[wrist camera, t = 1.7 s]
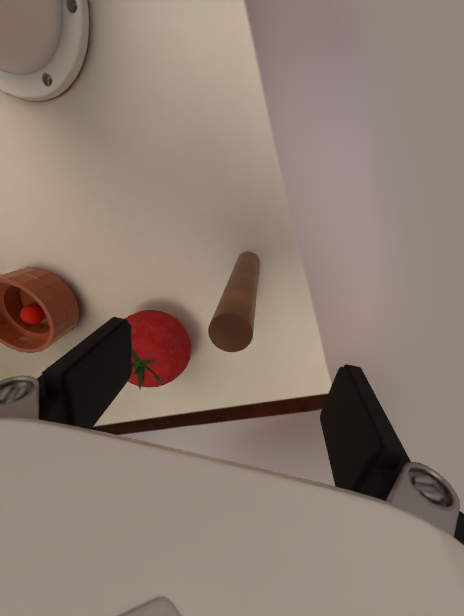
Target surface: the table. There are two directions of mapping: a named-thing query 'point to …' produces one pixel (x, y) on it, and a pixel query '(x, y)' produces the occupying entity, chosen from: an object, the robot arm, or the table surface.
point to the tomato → (157, 348)
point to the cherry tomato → (32, 314)
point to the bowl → (41, 291)
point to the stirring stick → (237, 306)
